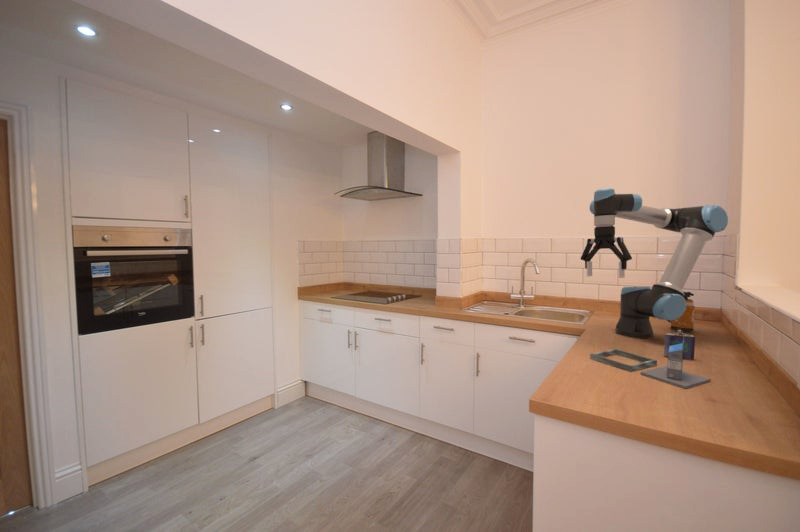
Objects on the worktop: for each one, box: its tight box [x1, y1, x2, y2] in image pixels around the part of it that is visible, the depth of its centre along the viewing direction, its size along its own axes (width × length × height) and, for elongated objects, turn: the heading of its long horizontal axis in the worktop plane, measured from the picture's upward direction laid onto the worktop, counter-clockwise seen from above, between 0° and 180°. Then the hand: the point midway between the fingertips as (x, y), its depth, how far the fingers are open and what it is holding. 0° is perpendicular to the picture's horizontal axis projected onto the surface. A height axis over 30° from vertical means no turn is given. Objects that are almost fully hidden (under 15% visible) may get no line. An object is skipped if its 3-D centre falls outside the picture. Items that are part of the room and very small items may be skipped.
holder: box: [589, 348, 658, 372], centre depth 129 cm, size 15×15×2 cm
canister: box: [666, 291, 696, 333], centre depth 175 cm, size 9×11×20 cm
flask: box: [663, 330, 696, 361], centre depth 134 cm, size 9×3×11 cm, turn 65°
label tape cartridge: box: [666, 339, 684, 380], centre depth 114 cm, size 9×4×12 cm, turn 141°
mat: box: [640, 365, 712, 390], centre depth 114 cm, size 14×13×1 cm
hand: (605, 277), depth 148 cm, fingers open, 13 cm apart
